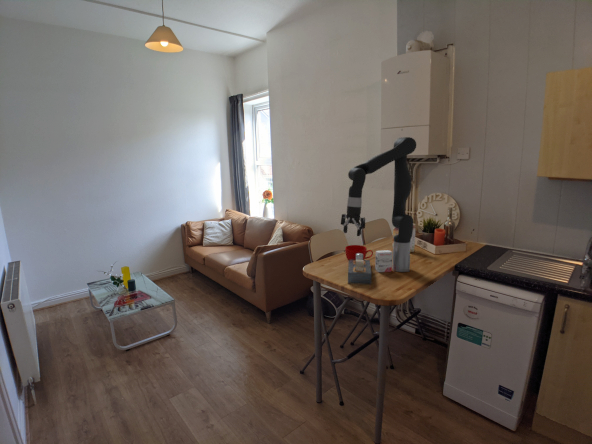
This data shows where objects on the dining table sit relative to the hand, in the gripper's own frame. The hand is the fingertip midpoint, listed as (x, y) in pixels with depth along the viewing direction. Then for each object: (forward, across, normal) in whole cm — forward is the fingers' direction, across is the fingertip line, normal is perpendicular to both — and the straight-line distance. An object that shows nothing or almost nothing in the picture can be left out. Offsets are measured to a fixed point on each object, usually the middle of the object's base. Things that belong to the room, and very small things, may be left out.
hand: (351, 234), depth 180 cm
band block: (+23, -5, -3) cm, 24 cm away
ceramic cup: (+23, +7, -21) cm, 32 cm away
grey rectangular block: (+18, -8, +3) cm, 21 cm away
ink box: (+22, -11, -20) cm, 32 cm away
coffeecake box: (+21, 0, -66) cm, 70 cm away
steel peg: (+18, -2, -7) cm, 20 cm away
